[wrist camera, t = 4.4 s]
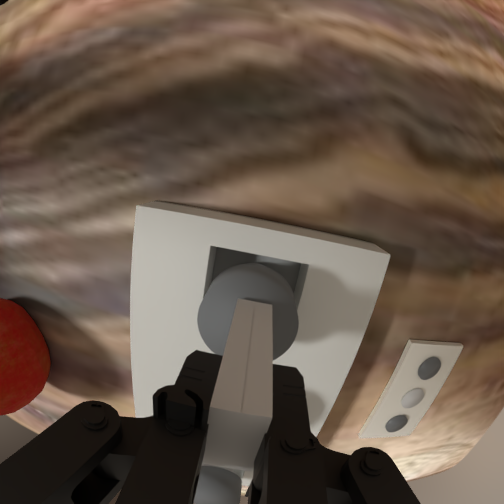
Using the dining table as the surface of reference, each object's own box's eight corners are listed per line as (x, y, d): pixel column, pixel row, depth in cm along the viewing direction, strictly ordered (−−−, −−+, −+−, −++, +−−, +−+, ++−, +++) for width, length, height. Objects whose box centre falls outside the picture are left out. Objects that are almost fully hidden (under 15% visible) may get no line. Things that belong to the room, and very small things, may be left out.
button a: (210, 312, 18) (192, 354, 13) (221, 242, 17) (203, 267, 12) (281, 326, 18) (285, 372, 13) (299, 258, 17) (310, 287, 12)
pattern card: (357, 433, 22) (359, 440, 21) (408, 339, 19) (413, 345, 18) (408, 431, 22) (410, 437, 21) (460, 342, 19) (465, 348, 18)
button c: (191, 461, 21) (180, 501, 16) (193, 435, 20) (181, 480, 15) (240, 471, 21) (235, 511, 16) (248, 446, 20) (244, 491, 15)
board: (150, 441, 24) (142, 462, 21) (156, 200, 18) (136, 205, 15) (284, 467, 24) (284, 489, 21) (372, 242, 17) (390, 254, 15)
